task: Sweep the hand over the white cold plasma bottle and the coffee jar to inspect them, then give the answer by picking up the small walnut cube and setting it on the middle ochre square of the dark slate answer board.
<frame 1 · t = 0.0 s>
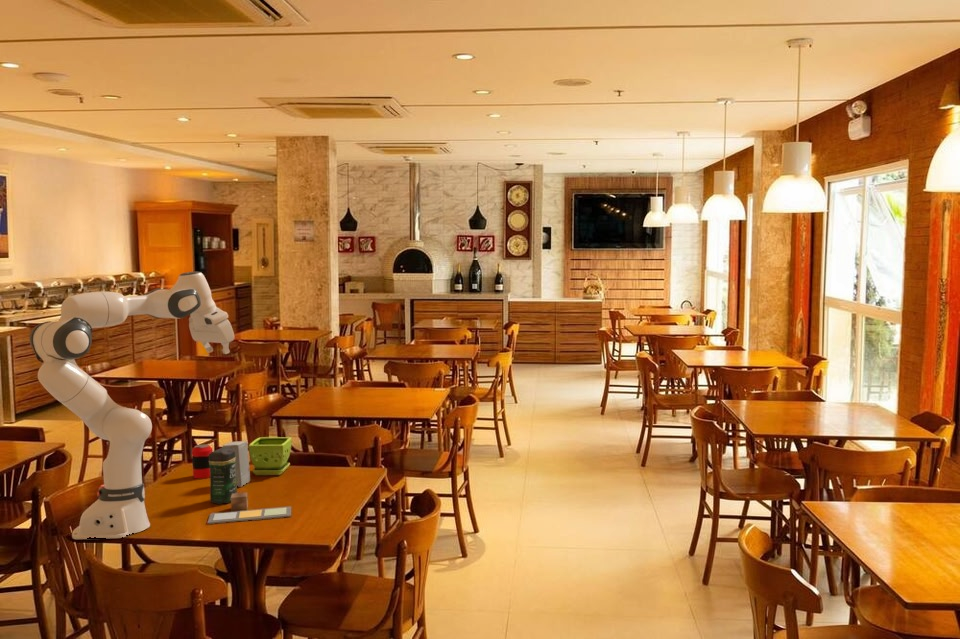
hand: (218, 352, 292), 52 cm above the table, tool tilted 20°, fingers open, 8 cm apart
answer board: (250, 516, 276), on the table
flower pot: (271, 472, 332), on the table
soda can: (203, 476, 328), on the table
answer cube: (239, 509, 284), on the table
coffee jar: (224, 501, 295), on the table
skincare box: (237, 484, 316), on the table
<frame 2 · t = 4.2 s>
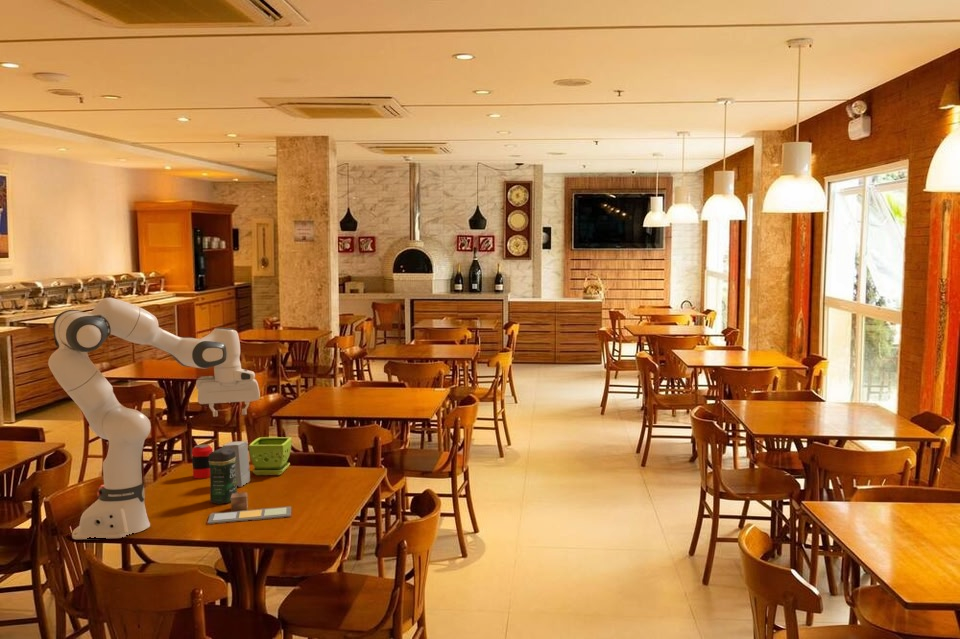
hand: (230, 415, 286), 31 cm above the table, tool pointing down, fingers open, 8 cm apart
nothing on the table moved.
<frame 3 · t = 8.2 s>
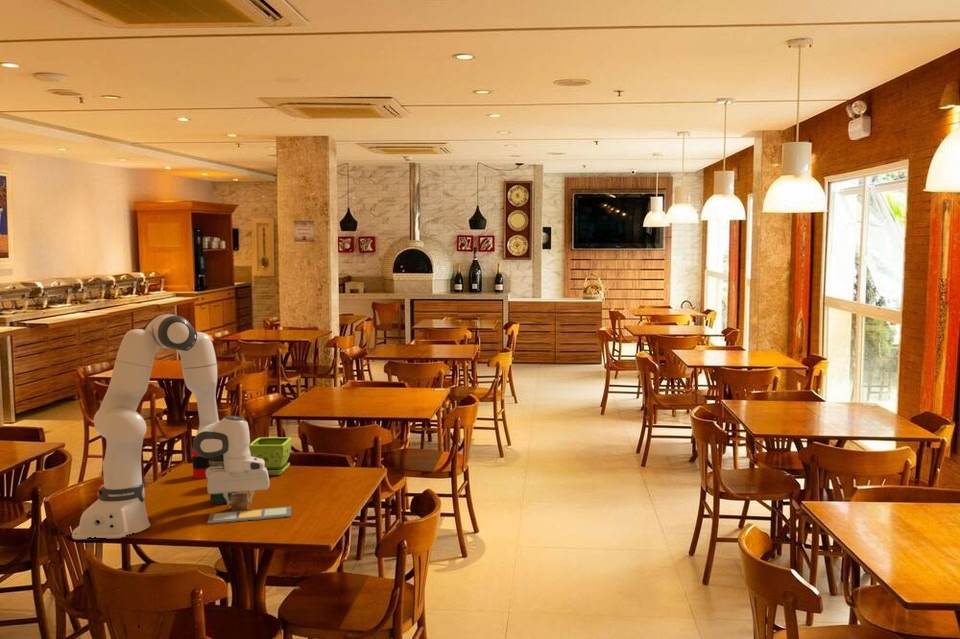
hand: (239, 504, 284), 2 cm above the table, tool pointing down, fingers closed on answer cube, 5 cm apart
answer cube: (239, 509, 284), on the table, touching gripper
coffee jar: (224, 501, 295), on the table, touching arm
everything else where it was.
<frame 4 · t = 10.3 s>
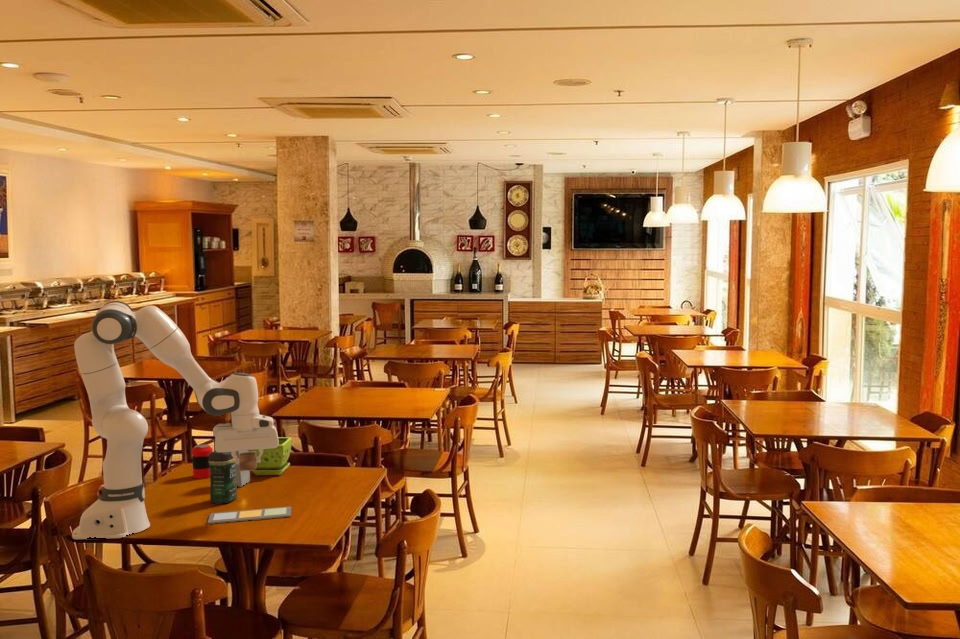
hand: (248, 463, 276), 17 cm above the table, tool pointing down, fingers closed on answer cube, 5 cm apart
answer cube: (248, 468, 276), point 16 cm above the table, touching gripper
coffee jar: (224, 501, 295), on the table
everything else where it was.
when the fingers open (4 cm above the table, at t = 12.3 s): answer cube drops 1 cm, resting on answer board.
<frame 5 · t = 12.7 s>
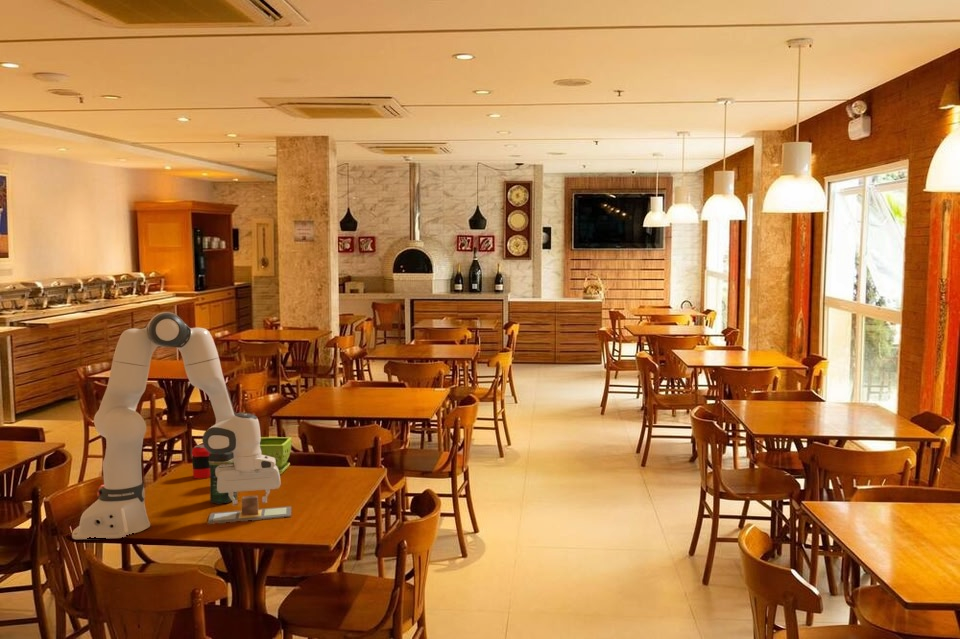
hand: (250, 503, 277), 4 cm above the table, tool pointing down, fingers open, 8 cm apart
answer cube: (250, 512, 277), point 1 cm above the table, touching answer board
everything else where it was.
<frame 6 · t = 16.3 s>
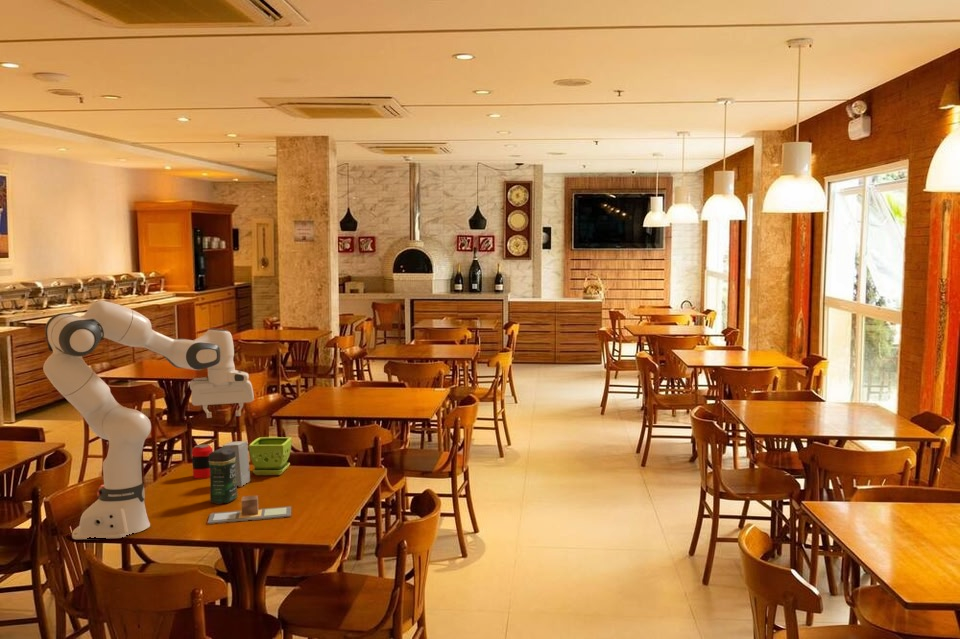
hand: (223, 416, 285), 31 cm above the table, tool pointing down, fingers open, 8 cm apart
nothing on the table moved.
at the end: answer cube inside the target area on the answer board (1.0 cm from its centre), point 0.7 cm above the answer board's base; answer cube tilted 0°; the gripper is holding nothing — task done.
